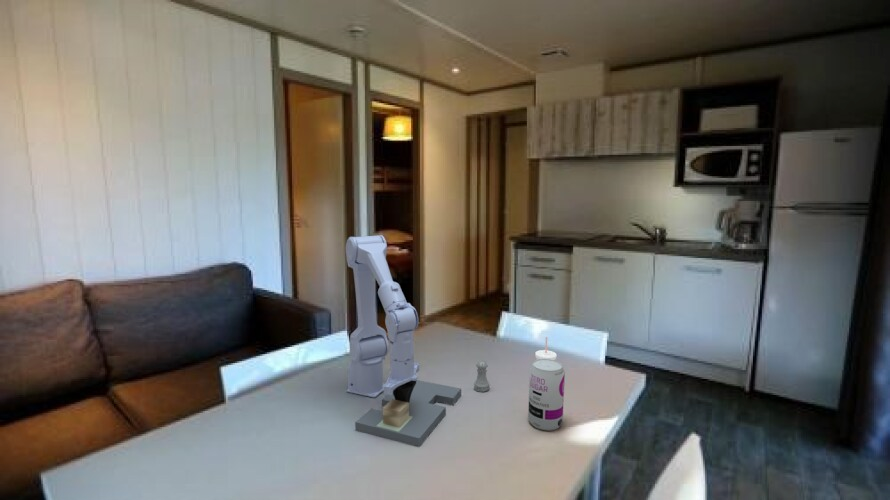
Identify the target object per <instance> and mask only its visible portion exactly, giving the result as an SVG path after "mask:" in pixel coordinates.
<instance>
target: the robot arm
mask: <svg viewBox="0 0 890 500" xmlns="http://www.w3.org/2000/svg"><path fill="white" fill-rule="evenodd" d="M387 253H388V244H387V241H386V238H385V237H384V235H382V234H378V235H369V236H368V235H367V236H366V235H365V236H349V237H348V238H347V240H346V243H345V254H346V255H345V256H346V263H347V266H348V268H351V269H352V270H353V279H354V288H355V290H354V291H355V300H356V306H357V307H356V308H357V317H358V327H357V328H355V330H354V331H353V332H352V333H351V334H350V337H349V341H350V343H349V353H350V357H351V359H350V361H349V363H348V366H347V385H348V386H347V389H346V392H347V393H352V394H356V395H361V396H364V397H370V398H373V399H375V398H377V397H378V396H379V395H380V394H381V393H383V394H384V395H392V394H393V395H394V397H395V400H399V401H404V402H408V403H409V402H410V397H411V394H412V391H413V388H414V386H415V385H416V380H419V374H417V373H418V372H419V371H420V363H417V362H415V331H416V330H417V329H418V327H419V316H418V312H417V310H416V308H415V306H412V304H411V303H410V302H407V300H406V297H405V295H404V292H403V291H402V288H401V285H400V284H399V283H398V282H396V281H394V280H393V276H392V274H391V271H390V268H389V264H388V261H387V255H388V254H387ZM372 274H373V275H372ZM373 277H374V278H375V281H377V284H378V286H379V288H378V289H377V290H378V291H377V294H378V298H379V300H380V302H381V305H382V307H383V310H384V312H385V318H384V321H385V327H386V330H387V331H386V330H385V329H384V328H383V327H381V326H380V325H378V323H377V313H376V304H375V303H376V302H375V293H374V284H373V283H374V282H373ZM388 353H389V354H390V358H389V359H390V363H389V364H390V373H389V375H388V378H387V380H386V382H385V383H384V366H383V365H384V364H383V362H384V360H385V359H386V356H388Z"/></svg>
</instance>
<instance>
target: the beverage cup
mask: <svg viewBox="0 0 890 500" xmlns="http://www.w3.org/2000/svg"><path fill="white" fill-rule="evenodd" d="M544 345H545V348H544V349H540V350H537V351H535V352H534V353H535V359H536V360H539V359H550V360H555V361H556V359H557V353H556V352H555V351H552V350H548V337H547V336H546V337H545V344H544Z"/></svg>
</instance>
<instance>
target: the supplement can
mask: <svg viewBox="0 0 890 500" xmlns="http://www.w3.org/2000/svg"><path fill="white" fill-rule="evenodd" d="M565 373H566V372H565V369H564V367H563V364H562V363H561V362H559V361H557V360H556V359H555V360H550V359H539V360H534V361H533V362H532V364H531V366H530V368H529V379H528V381H529V382H528V383H529V384H528V413H527V414H528V415H527V419H528V421H529V423H530V424H531V425H532V426H533V427H535V428H536V429H538V430H543V431H549V432H550V431H555V430H557V429H559V428H560V427H561V426H562V425H563V423H564V422H563V420H564V399H565V398H564V397H565V396H564V395H565V377H566V376H565Z"/></svg>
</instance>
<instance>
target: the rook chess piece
mask: <svg viewBox="0 0 890 500" xmlns="http://www.w3.org/2000/svg"><path fill="white" fill-rule="evenodd" d="M475 366H476V368H477V369H476V371H477V375H476V379H475V381H474V386H473V389H474V390H475V391H476V392H479V393H485V392H488V391H489V389H490V383H489V380H488V377H487V368H488V364H487V361H486V360H478V361H477V363H476V364H475Z"/></svg>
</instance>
